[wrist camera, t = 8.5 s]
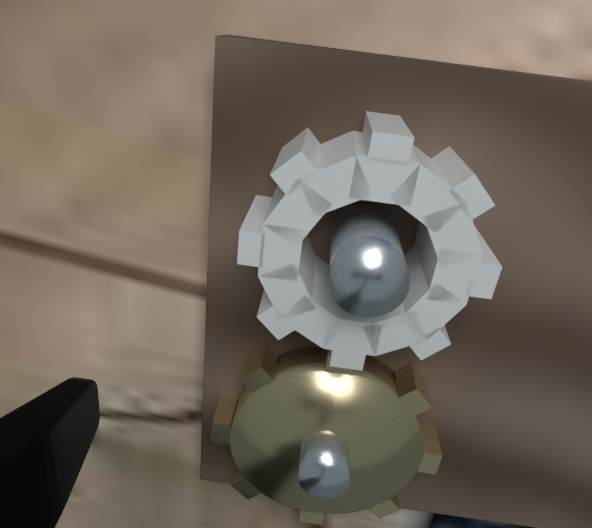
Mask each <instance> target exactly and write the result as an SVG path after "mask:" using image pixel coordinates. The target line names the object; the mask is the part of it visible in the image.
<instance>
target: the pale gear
mask: <svg viewBox="0 0 592 528" xmlns="http://www.w3.org/2000/svg"><path fill="white" fill-rule="evenodd" d="M413 142H414V136H413V134H412V133H411V131H410V130H409V128H408V127H407V125H406V124H405V122H404V121H403V119H402V118H401V116H399V115H391V114H383V113H376V112H368V111H366V113H365V119H364V125H363V131H362V132H359V131H351V132H349V133H346V134H344V135H341V136H339V137H337V138H334V139H332V140H329V141H327V142H324V143H322V144H320V142H319V141H318V140H317V138H316V137H315V136H314V135H313V133H312V132H311V131H310V129H309V128H308V127H307V128H306V129H305V130H304V131H302V132H301V133H300V134H299V135H297V136H296V137H295V138H294V139H292V140H291V141H290V142H288V143H287V144H286V145H285V146H283V147H282V149H281V151H280V153H279V156H278V158H277V160H276V162H275V164H274V167H273V169H272V171H271V173H270V176H271V177H272V178H273V179H274V181H275V182H276V183H277V184H278V187H277V188H276V189H275V192H274V195H273V197H267V196H259V195H256V196H255V198H254V201H253V203H252V205H251V207H250V209H249V211H248V213H247V215H246V217H245V220H244V222H243V224H242V226H241V228H240V230H239V241H238V256H237V264H240V265H247V266H254V267H259V268H258V277H259V279H260V281H261V283H262V285H263V287H264V292H263V295H262V299H261V303H260V306H259V310H258V313H257V318H258V319H259V320H260V321H261V322H262V323H263V325H264V326H265V327H266V328H267V329H268V330H269V331H270V332H271V333H272V334H273V335H274V336H275V337H276V338H277V340H280V339H281V338H283V337H285V336H286V335H288V334H289V333H291V332H293V331H294V330H296V331H297V332H299V333H300V334H302V335H303V336H305V337H306V338H308V339H309V340H311V341H312V342H314V343H315V344H317V345H318V346H320V347H321V348H323V349H329V350H330V362H329V366H332V367H339V368H346V369H353V370H360V371H362V370H363V366H364V361H365V357H366V355H371V356H377V355H381V354H384V353H388V352H391V351H394V350H398V349H401V348H405V347H408V346H410V347H411V349H412V350H413V351H414V352H415V354H416V355H417V356H418V357H419V359H420V360H423V359H425V358H427V357H429V356H431V355H432V354H434V353H436V352H438V351H440V350H442V349H444V348H445V347H447V346H449V345H451V342H450V339H449V336H448V334H447V331H446V328H445V324H446V323H447V322H448V321H449V320H451V319H452V318H453V317H454V316H455V315H456V314H457V313H458V312H459V311H460V310H462V309H463V308H464V307H465V306H466V305H467V302H468V299H469V296H471V297H478V298H485V299H492V296H493V293H494V290H495V287H496V284H497V281H498V278H499V276H500V273H501V270H502V265H501V264H500V262H499V261H498V260H497V258H496V257H495V255H494V254H493V252H492V251H491V249H490V248H489V246H488V245H487V243H486V242H485V240H484V239H483V237H482V236H481V234H480V233H479V231H478V230H477V229H476V227H475V226H474V223H473V219H474V218H476V217H478V216H479V215H481V214H482V213H484V212H486V211H487V210H489V209H490V208H492V207H494V206H495V204H494V202H493V201H492V199H491V198H490V196H489V195H488V193H487V192H486V190H485V189H484V187H483V186H482V184H481V182H480V181H479V179H478V178H477V176H476V175H475V173H474V172H473V171H472V170H471V169H470V168H469V167H468V166H467V165H466V164H465V163H464V161H463V160H462V159H461V158H460V157H459V156H458V155H457V154H456V153H455V152H454V150H453V149H452V148H451V147H450V146H449V147H447V148H446V149H444V150H443V151H442V152H440V153H439V154H437V155H436V156H434V157H433V158H429V157H428V156H427V155H426V154H424V153H423V152H422V151H421V150H420V149H418V148H417V147H416V146H415V145H413ZM359 200H367V201H374V202H381V203H389V204H396V205H400V206H401V207H402V208H403V209H405V210H406V211H407V212H409V213H410V214H411V215H412V216H414V217H415V218H416V219H418V220H419V221H420V222H419V226H418V230H417V234H416V239H415V243H414V246H413V247H412V248H411V249H410V250H409V251H408V252H407V253H406V254H405V255H404V258H405V261H406V265H407V268H408V272H409V275H410V288H409V291H408V294H407V296H406V298H405V300H404V301H403V302H402V303H401V305H400V306H398V307H397V308H396V309H395V310H393V311H392V312H390V313H388V314H385V315H383V316H379V317H370V318H367V317H359V316H355V315H352V314H350V313H348V312H346V311H345V310H343V309H342V308H341V307H340V306H339V305H338V304H337V303H336V301H335V300H334V298H333V296H332V294H331V291H330V265H329V264H328V263H326V262H325V261H324V260H322V259H321V258H319V257H318V256H317V255H316V254H315V252H314V249H313V247H312V245H311V243H310V241H309V238H308V236H307V234H308V233H309V232H310V231H311V229H312V228H313V227H314V226H315V225H316V223H317V222H318V221H319V220H320V219H321V217H322V216H323V215H324V214H325V213H327V212H329V211H332V210H335V209H337V208H340V207H343V206H345V205H348V204H351V203H353V202H356V201H359Z"/></svg>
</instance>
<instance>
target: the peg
mask: <svg viewBox="0 0 592 528" xmlns="http://www.w3.org/2000/svg"><path fill="white" fill-rule="evenodd" d="M409 288H410V275H409V272H408V268H407V265H406V261H405V258H404V254H403V251H402V247H401V244H400V240H399V237H398V233H397V230H396V226H395V223H394V219H393V216H392V213H391V211H390V209H389V207H388V206H387V205H386V204H385V203H381V202H374V201H367V200H359V201H356V202H353V203H351V204H348V205H345V206H343V207H340V208H337V209H336V210H335V212H334V214H333V217H332V222H331V251H330V291H331V294H332V296H333V298H334V300H335V301H336V303H337V304H338V305H339V306H340V307H341V308H342V309H343V310H345V311H346V312H348V313H350V314H352V315H355V316H359V317H367V318H370V317H379V316H383V315H385V314H388V313H390V312H392V311H393V310H395V309H396V308H397V307H398V306H400V305H401V303H402V302H403V301H404V300H405V298H406V296H407V294H408V291H409Z"/></svg>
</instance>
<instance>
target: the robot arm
mask: <svg viewBox="0 0 592 528" xmlns="http://www.w3.org/2000/svg"><path fill="white" fill-rule="evenodd" d="M99 419H100V411H99V400H98V388H97V384H96V382H95V381H93V380H90V379H83V378H76V377H75V378H70V379H67V380H66V381H64V382H62V383H60V384H59V385H57V386H55V387H53V388H52V389H50V390H48V391H47V392H45V393H43V394H41V395H40V396H38V397H36V398H34V399H33V400H31V401H29V402H27V403H26V404H24V405H22V406H21V407H19V408H17V409H15V410H14V411H12V412H10V413H8V414H7V415H5V416H3V417H1V418H0V528H55V526H56V524H57V522H58V520H59V518H60V516H61V514H62V512H63V510H64V508H65V505H66V503H67V501H68V498H69V496H70V494H71V491H72V489H73V486H74V484H75V482H76V479H77V477H78V474H79V472H80V469H81V467H82V465H83V462H84V460H85V457H86V455H87V453H88V450H89V448H90V445H91V443H92V440H93V438H94V436H95V433H96V431H97V428H98V425H99Z"/></svg>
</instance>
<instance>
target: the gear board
mask: <svg viewBox="0 0 592 528" xmlns="http://www.w3.org/2000/svg"><path fill="white" fill-rule="evenodd" d="M366 111H368V112H376V113H383V114H391V115H399V116H401V118H402V119H403V121H404V122H405V124H406V125H407V127H408V128H409V130H410V131H411V133H412V134H413V136H414V142H413V145H415V146H416V147H417V148H418V149H420V150H421V151H422V152H423V153H424V154H426V155H427V156H428V157H429V158H433V157H434V156H436V155H437V154H439V153H440V152H442V151H443V150H444V149H446V148H447V147H449V146H450V147H451V148H452V149H453V150H454V152H455V153H456V154H457V155H458V156H459V157H460V158H461V159H462V160H463V161H464V163H465V164H466V165H467V166H468V167H469V168H470V169H471V170H472V171H473V172H474V173H475V175H476V176H477V178H478V179H479V181H480V182H481V184H482V186H483V187H484V189H485V190H486V192H487V193H488V195H489V196H490V198H491V199H492V201H493V202H494V204H495V206H494V207H492V208H490V209H489V210H487V211H486V212H484V213H482V214H481V215H479V216H478V217H476V218H474V219H473V223H474V226H475V227H476V229H477V230H478V231H479V233H480V234H481V236H482V237H483V239H484V240H485V242H486V243H487V245H488V246H489V248H490V249H491V251H492V252H493V254H494V255H495V257H496V258H497V260H498V261H499V262H500V264H501V265H502V270H501V273H500V276H499V278H498V281H497V284H496V287H495V290H494V293H493V296H492V299H485V298H478V297H471V296H469V299H468V302H467V305H466V306H465V307H464V308H463V309H462V310H460V311H459V312H458V313H457V314H456V315H455V316H454V317H453V318H452V319H451V320H449V321H448V322H447V323H446V324H445V328H446V331H447V334H448V336H449V339H450V342H451V345H449V346H447V347H445V348H444V349H442V350H440V351H438V352H436V353H434V354H432V355H431V356H429V357H427V358H425V359H423V360H420V359H419V357H418V356H417V355H416V354H415V352H414V351H413V350H412V349H411V347H410V346H408V347H405V348H401V349H398V350H394V351H391V352H388V353H384V354H381V355H377V356H371V355H369V356H371V357H373V358H375V359H377V360H379V361H380V362H382V363H384V364H385V365H387V366H388V367H389V368H391V369H392V370H393V371H394V372H395V370H396V369H398V368H400V367H402V366H404V365H405V364H407V363H409V362H411V363H412V364H413V365H414V367H415V368H416V369H417V370H418V371H419V373H420V374H421V375H422V376H423V377H424V379H425V381H426V385H427V389H428V393H429V397H430V401H431V405H432V408H430V409H428V410H426V411H424V412H422V413H420V414H418V420H419V423H420V424H427V425H434V426H435V427H436V431H437V435H438V439H439V443H440V448H441V452H442V459H441V461H440V464H439V467H438V470H437V473H436V474H429V473H422V472H416V473H415V475H414V477H413V478H412V480H411V481H410V482H409V483H408V484H407V485H406V487H404V488H403V489H402V490H401V491H400V492H399V493H398V498H399V505H400V508H403V509H410V510H417V511H424V512H431V513H438V514H445V515H452V516H459V517H466V518H473V519H480V520H487V521H494V522H501V523H507V524H514V525H521V526H528V527H535V528H592V81H586V80H578V79H571V78H563V77H555V76H547V75H539V74H531V73H523V72H516V71H508V70H500V69H492V68H484V67H476V66H469V65H461V64H453V63H445V62H437V61H429V60H421V59H414V58H406V57H398V56H390V55H382V54H374V53H366V52H359V51H351V50H343V49H335V48H327V47H319V46H312V45H304V44H296V43H288V42H280V41H272V40H264V39H257V38H249V37H241V36H233V35H219V36H216V40H215V69H214V97H213V126H212V155H211V184H210V212H209V241H208V270H207V299H206V327H205V356H204V385H203V414H202V442H201V471H200V479H202V480H209V481H216V482H223V483H230V484H232V480H233V476H234V472H235V467H236V463H235V461H234V458H233V456H232V452H231V447H230V444H229V445H226V444H219V443H212V442H211V431H212V421H213V418H214V415H215V411H216V408H217V405H218V402H219V399H220V396H228V397H236V398H238V399H239V396H240V393H241V390H242V388H243V386H244V384H243V383H242V382H241V381H240V377H241V373H242V370H243V366H244V362H245V359H246V355H247V354H248V353H250V352H251V351H253V350H255V349H256V348H258V347H259V346H261V345H262V344H264V343H266V342H267V343H268V344H269V345H270V346H271V347H272V348H273V349H274V350H275V351H276V352H277V353H278V354H279V355H281V354H283V353H286V352H288V351H292V350H296V349H300V348H306V347H314V346H318V345H317V344H315V343H314V342H312V341H311V340H309V339H308V338H306V337H305V336H303V335H302V334H300V333H299V332H297V331H296V330H294V331H293V332H291V333H289V334H288V335H286V336H285V337H283V338H281V339H280V340H277V338H276V337H275V336H274V335H273V334H272V333H271V332H270V331H269V330H268V329H267V328H266V327H265V326H264V325H263V323H262V322H261V321H260V320H259V319H258V318H257V313H258V310H259V306H260V303H261V299H262V295H263V292H264V287H263V285H262V283H261V281H260V279H259V277H258V268H259V267H254V266H247V265H240V264H237V256H238V241H239V230H240V228H241V226H242V224H243V222H244V220H245V217H246V215H247V213H248V211H249V209H250V207H251V205H252V203H253V201H254V198H255V196H256V195H259V196H267V197H273V195H274V192H275V189H276V188H277V187H278V184H277V183H276V182H275V181H274V179H273V178H272V177H271V176H270V173H271V171H272V169H273V167H274V164H275V162H276V160H277V158H278V156H279V153H280V151H281V149H282V147H283V146H285V145H286V144H287V143H288V142H290V141H291V140H292V139H294V138H295V137H296V136H297V135H299V134H300V133H301V132H302V131H304V130H305V129H306V128H307V127H308V128H309V129H310V131H311V132H312V133H313V135H314V136H315V137H316V138H317V140H318V141H319V142H320V144H322V143H324V142H327V141H329V140H332V139H334V138H337V137H339V136H341V135H344V134H346V133H349V132H351V131H359V132H362V131H363V125H364V119H365V113H366ZM385 204H386V205H387V206H388V207H389V209H390V211H391V213H392V216H393V219H394V223H395V226H396V230H397V233H398V237H399V240H400V244H401V247H402V251H403V254H404V255H405V254H406V253H407V252H408V251H409V250H410V249H411V248H412V247H413V246H414V243H415V239H416V234H417V230H418V226H419V222H420V221H419V220H418V219H416V218H415V217H414V216H412V215H411V214H410V213H409V212H407V211H406V210H405V209H403V208H402V207H401V206H400V205H396V204H389V203H385ZM335 210H336V209H335ZM335 210H332V211H329V212H327V213H325V214H324V215H323V216H322V217H321V219H320V220H319V221H318V222H317V223H316V225H315V226H314V227H313V228H312V229H311V231H310V232H309V233H308V234H307V236H308V238H309V241H310V243H311V245H312V247H313V249H314V252H315V254H316V255H317V256H318V257H319V258H321V259H322V260H324V261H325V262H326V263H328V264H329V265H330V251H331V222H332V217H333V214H334V212H335Z"/></svg>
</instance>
